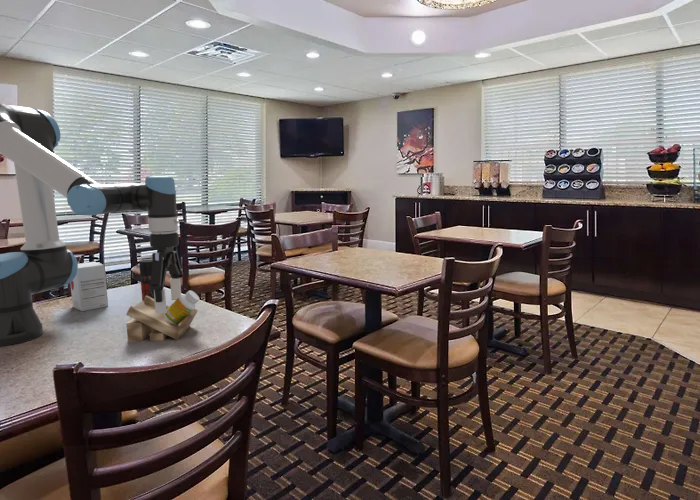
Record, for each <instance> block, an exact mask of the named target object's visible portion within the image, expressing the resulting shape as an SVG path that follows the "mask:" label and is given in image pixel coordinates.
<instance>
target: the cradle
mask: <svg viewBox="0 0 700 500" xmlns="http://www.w3.org/2000/svg"><path fill="white" fill-rule="evenodd" d="M169 307H170V306H168V305H167V304H166V310H167V309H168V308H169ZM198 311H199V310H198V309H196V308H194V310H193V311H192V312H191V313H190V314H189V315H188V316H187V317H186V318H185V319H184V320H183V321H182V322H181V323H179V324H178V325H173V324H171V323H170V322H169V321H168V320H167V319H166V318H165V317H164V313H157V314H156V312H155V299H153V298H151V297H149V296H147V295H146V296H145V298H144V300H143V301H142V300H141V301H140V302H139V303H137V304H136V305H134V306H133V305H130V306H129V308H128V310H127V312H126V314H125V315H126V316H128V317H129V318H130V320H129V321H127V322H126V323H125V325H126V337H127V342H143V341H145V339H147V338H148V337H149V341H151V342H154V341H155V342H157V341H158V342H159V341H165V340H166V338H168V337H170V338H172V339H174V340H176V341H178V340H179V339H180V337H181V336H182V335H183V334H184V333H185V332H186V331H187V330H188V328H189V327H190V326H191V324H192V322H193V320H194V318H195V317H196V314H197V312H198Z"/></svg>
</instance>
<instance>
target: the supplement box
mask: <svg viewBox="0 0 700 500" xmlns="http://www.w3.org/2000/svg"><path fill="white" fill-rule="evenodd" d="M69 285H70V292H71V293H70V294H71V303H72V308H74V309H76V310H79V311H80V312H84V311H85V312H86V311H92V310H94V309H100V308H105V307H109V299H108V289H107V288H108V286H107V275H106V265H105V264H104V263H103V264H102V263H101V262H98V261H97V262H96V261H90V262H82V263H78V270H77V274H76V276H75V278H74V279H73V280H72V281H71V282H70V283H69Z"/></svg>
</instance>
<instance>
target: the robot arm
mask: <svg viewBox="0 0 700 500" xmlns="http://www.w3.org/2000/svg"><path fill="white" fill-rule="evenodd" d="M60 140H61V128H60V126H59V124H58V122H57V120H56V119H55V118H54V117H53V116H51V114H50V113H48V112H46V111H44V110H42V109H37V108H34V107H27V106H20V105H12V104H5V103H0V155H2V156H4V157H6V159H9V160H10V161H11V162H13V164H14V166H13V167H14V170H15V177H16V185H17V190H18V191H17V192H18V199H19V204H20V211H21V212H20V213H21V218H22V225H23V226H22V227H23V233H24V238H25V243H24V244H23V245H22V246H21V247H20V251H14V252H13V251H12V252H11V251H10V252H6V253H0V347H3V346H11V345H16V344H20V343H24V342H27V341H31V340H34V339H36V338H39V337H40V336H42V335H43V334H44V328H43V323H42V322H41V320H40V318H39V316H38V313H36V310H35V308H34V305H33V295H36V294H39V293H40V294H41V293H43V292H47V291H51V290H56V289H60V288H62V287H63V286H67V285H70V282H71V281H72V280H73V279H74V278H75V276H76V274H77V270H78V264H79V263H78V260H77V257H76V255H74V253H73V252H72V251H71V250H69V249H67V244H66V243H65V242H63V240H61V239H60V234H59V227H58V219H57V212H56V204H55V199H54V197H55V196H54V191H56V192H57V193H59V194H60V195H62V196H63V197H65V199H66V202H67V205H68V206H69V207H70V209H71V211H72V212H73V213H74V214H76V215H78V216H97V215H102V214H112V213H120V212H121V213H124V212H132V211H135V212H136V211H137V212H138V211H139V212H140V211H142V212H143V211H144V212H147V224H148V232H150V234H149V245H150V247H151V248H155V249H156V252H152V254H151V259H152V261H153V262H152V272H151V283H150V290H154V299H155V312H156V314H157V313H167V310H166V305H167V301H166V300H167V298H166V297H167V296H166V288H165V282H166V275H167V270H168V273H169V275H170V279H169V283H170V295H171V296H170V297H171V301H176V300H177V299H178V298H179V297H180V296H181V295H182V287H181V279H183V277H184V274H183V270H182V269H183V268H182V265H181V261H180V258H179V254H178V252H179V251H178V246H179V244H180V240H179V235H180V234H179V233H178V232H177V231H178V230H179V225H178V224H179V223H180V220H179V219H178V212H177V190H176V185H175V184H176V183H175V179H174V177H173V176H170V175H167V176H165V175H164V176H162V175H161V176H154V175H153V176H151V175H150V176H146V177H145V179H144V180H145V182H144V183H125V182H122V183H121V182H119V183H107V184H106V183H105V184H103V183H102V184H101V183H99V182H97V181H96V180H94V179H92V178H91V177H90V176H88V175H87V174H85V173H84V172H82V171H81V170H78V169H77V168H76V167H74V166H73V165H71V164H70V163H69V162H67V161H66V160H64V159H63V158H61V157H59V156H58V155H56V154H55V152H54V149H55V148H57V146H58V145H59V142H60ZM53 190H54V191H53ZM164 288H165V289H164Z"/></svg>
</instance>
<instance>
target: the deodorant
mask: <svg viewBox="0 0 700 500" xmlns="http://www.w3.org/2000/svg"><path fill="white" fill-rule="evenodd" d="M152 262H153V261H152V258H149V259H148V258H146V259H141V260H139V263H138V264H139V276H140V277H139V278H140V289H141V291H140V292H141V302H142V301H143V300H144V298H145V296H146V295H147V296H149V297H151V298H153V299H154V290H150V283H151V272H152Z"/></svg>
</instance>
